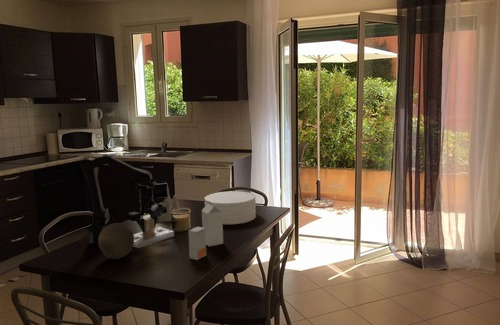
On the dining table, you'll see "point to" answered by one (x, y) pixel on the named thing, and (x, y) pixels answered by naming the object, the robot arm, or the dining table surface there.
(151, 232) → the wooden peg
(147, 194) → the robot arm
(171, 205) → the ceramic cottage
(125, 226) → the cantaloupe
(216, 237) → the milk carton
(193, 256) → the skincare box
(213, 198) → the plate stack
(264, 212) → the dining table surface
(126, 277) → the dining table surface
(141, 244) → the white flat tray
